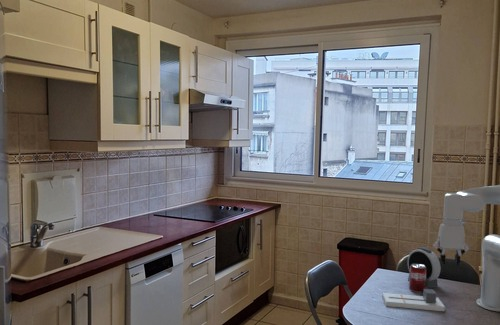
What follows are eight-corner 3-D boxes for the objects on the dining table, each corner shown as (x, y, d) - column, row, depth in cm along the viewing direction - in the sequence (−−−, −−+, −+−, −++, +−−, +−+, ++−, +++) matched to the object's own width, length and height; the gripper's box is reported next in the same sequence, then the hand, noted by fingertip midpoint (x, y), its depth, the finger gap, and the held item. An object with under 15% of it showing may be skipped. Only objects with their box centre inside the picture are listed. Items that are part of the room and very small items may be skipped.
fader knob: (432, 298, 183) (433, 289, 183) (435, 302, 178) (436, 293, 178) (423, 297, 184) (423, 288, 184) (425, 301, 179) (426, 292, 179)
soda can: (426, 293, 195) (428, 268, 194) (410, 292, 196) (411, 267, 196) (423, 288, 202) (424, 264, 201) (407, 286, 203) (409, 262, 203)
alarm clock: (402, 279, 214) (404, 244, 212) (416, 276, 218) (418, 242, 217) (429, 290, 199) (431, 253, 198) (443, 287, 204) (445, 250, 203)
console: (437, 302, 185) (438, 297, 185) (444, 311, 176) (444, 306, 175) (382, 297, 189) (382, 292, 189) (385, 305, 180) (385, 301, 179)
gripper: (470, 221, 180) (467, 262, 181) (429, 219, 183) (426, 259, 184) (477, 225, 172) (474, 268, 174) (433, 222, 175) (431, 265, 176)
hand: (449, 263), depth 179 cm, fingers open, 4 cm apart
